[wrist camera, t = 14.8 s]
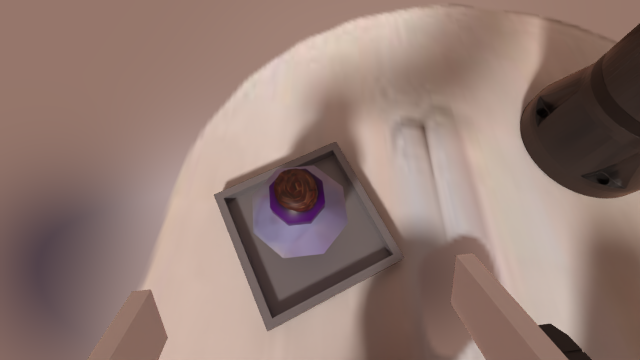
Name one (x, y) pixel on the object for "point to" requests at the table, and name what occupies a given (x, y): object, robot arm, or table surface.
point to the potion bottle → (299, 211)
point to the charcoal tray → (313, 270)
